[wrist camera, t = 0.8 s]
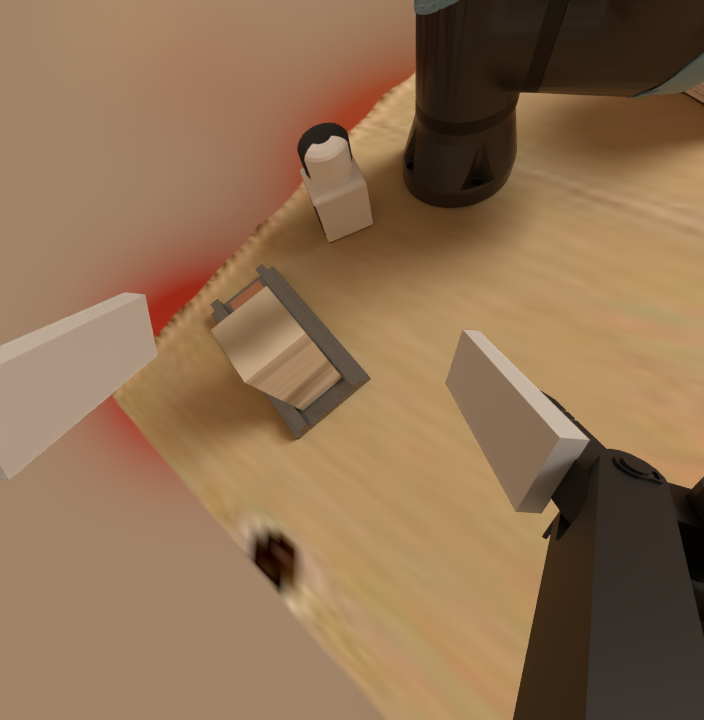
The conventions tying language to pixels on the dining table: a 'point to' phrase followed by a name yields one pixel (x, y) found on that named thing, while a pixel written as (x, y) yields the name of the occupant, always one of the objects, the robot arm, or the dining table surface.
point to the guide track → (322, 339)
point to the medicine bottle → (334, 181)
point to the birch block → (275, 351)
